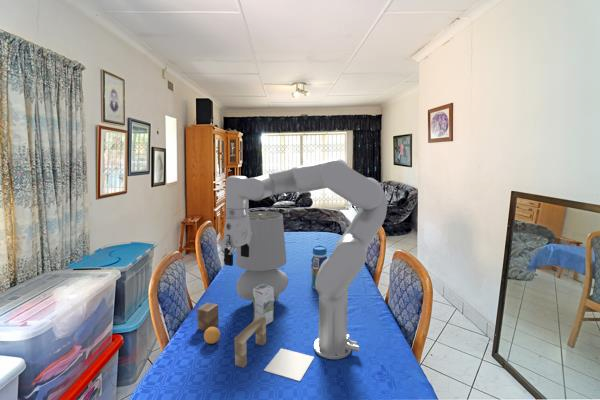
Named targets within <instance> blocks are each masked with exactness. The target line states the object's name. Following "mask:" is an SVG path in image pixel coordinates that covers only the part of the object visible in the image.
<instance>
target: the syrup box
mask: <svg viewBox="0 0 600 400" xmlns="http://www.w3.org/2000/svg"><path fill="white" fill-rule="evenodd" d="M274 302H275V300H274V288H273V287H271V286H269V285H267V284H262V285H259V286H257V287H255V288H253V302H252V303H253V304H252V305H253V306H252V307H253V314H252V315H253V321H254V320H255V319H256V318H257V317H258V316H259V317H263V318H266V326H268V325H269V324H271V323H273V322H274V318H275V317H274V313H275V312H274V309H275V307H274V306H275V305H274Z"/></svg>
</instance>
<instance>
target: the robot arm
mask: <svg viewBox="0 0 600 400" xmlns="http://www.w3.org/2000/svg"><path fill="white" fill-rule="evenodd" d="M323 189H329V190H330V191H331V192H333V193H335V194H336V195H338V196H339V197H341V198H343V199H344V200H346V201H347V202H349V203H351V204H352V205H354V206H355V207H357V208H358V210H357V212H356V214H355V215H354V217H353V219H352V220H351V223H350V224H349V225H348V227H347V228H346V230H345V231H344V233H343V234H342V235H341V236H340V237H339V238H338V241H337V242H336V245H335V248H334V249H333V251H332V253H331V254H330V256H329V257H327V259H326V260H325V261H324V262H323V263H322V264H321V266H320V268H319V271H318V274H317V276H316V280H315V286H316V289H315V290H316V292H317V293H318V338H317V339H315V341H314V344H313V349H314V351H315V352H316V354H317V355H318V356H319V357H321V358H324V359H327V360H328V359H329V360H341V359H344V358H346V357H348V356H349V355H350V353H351V351H354V352H356V353H357V352H359V353H360V345H358V341H356V340H351V339H350V334H348V308H349V307H348V306H349V305H348V303H349V299H348V298H349V287H350V286H351V285H352V283H353V281H354V280H355V279H356V277H357V276H358V275H359V273H360V272H361V270H362V269H363V267H364V265H365V264H366V260H367V255H368V254H367V253H368V248H369V246H370V245H371V243H372V242H373V240H374V239H375V237H376V236H377V234H378V232H379V231H380V229H381V228H382V226H383V224H384V221H385V219H386V216H387V211H388V202H387V201H388V199H387V196H386V193H385V191H384V189H383V187H382V185H381V184H380V182H379V181H378V180H376V179H375V178H374V177H367V176H365V175H363V174H362V173H359V172H357V171H356V170H355V169H353V168H351V167H350V166H348V164H347V162H346V161H344V160H343V159H341V158H332V159H327V160H323V161H322V160H321V161H318V162H314V163H309V164H304V165H298V166H295V167H293V168H290V169H286V170H283V171H282V170H281V171H279V172H273V173H268V174H263V175H258V176H255V177H249V178H248V177H247V176H245V175H230V176H228V177H226V179H225V220H224V221H225V222H224V231H223V239H222V240H221V242H220V243H219V247H220V249H221V252H222V254H224V255H223V263H224V265H225V266H229V267H233V266H234V254H233V251H234V249H237V248H239V247H241V256H243V257H249V246H250V241H251V236H252V232H251V226H250V218H249V215H248V213H249V208H250V207H249V204H250V203H249V200H251V201H254V202H255V201H256V202H257V201H261V200H263V199H266V198H267V197H270V196H274V195H280V194H285V193H299V194H301V193H308V192H309V193H310V192H312V191H313V192H314V191H318V190H323Z"/></svg>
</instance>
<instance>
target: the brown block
mask: <svg viewBox="0 0 600 400" xmlns="http://www.w3.org/2000/svg"><path fill="white" fill-rule="evenodd" d="M196 309H197V310H196V312H197V313H196V314H197V315H196V317H197V328H198V330H201V331H204V332H205V331H206V330H207V329H208V328H209V327H216V328H217V326H218V325H219V324H220V321H219V320H220V319H219V305H218V304H217V303H212V302H205V304H203V305H201V306H200V307H198V308H196Z"/></svg>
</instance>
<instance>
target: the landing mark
mask: <svg viewBox="0 0 600 400" xmlns="http://www.w3.org/2000/svg"><path fill="white" fill-rule="evenodd" d="M314 359H315V356H313V355H308V354H305V353H301V352H299V351H298V352H297V351H294V350H289V349H286V348H282V347H281V348H280V349H279V351H277V353H276V354H275V355H274V356H273V358H272V359H271V360H270V362H269V363H268V364H267V365H266V367H265V368H264V369H263V372H267V373H271V374H274V375H278V376H280V377H284V378H287V379H291V380H294V381H297V382H301V380H302V379H303V377H304V375H306V372H307V371H308V369H309V367H310V365H312V362H313V360H314Z"/></svg>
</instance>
